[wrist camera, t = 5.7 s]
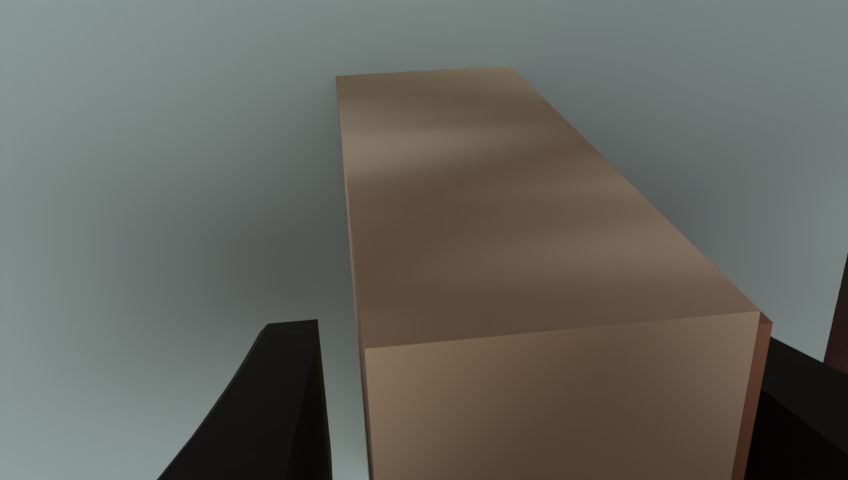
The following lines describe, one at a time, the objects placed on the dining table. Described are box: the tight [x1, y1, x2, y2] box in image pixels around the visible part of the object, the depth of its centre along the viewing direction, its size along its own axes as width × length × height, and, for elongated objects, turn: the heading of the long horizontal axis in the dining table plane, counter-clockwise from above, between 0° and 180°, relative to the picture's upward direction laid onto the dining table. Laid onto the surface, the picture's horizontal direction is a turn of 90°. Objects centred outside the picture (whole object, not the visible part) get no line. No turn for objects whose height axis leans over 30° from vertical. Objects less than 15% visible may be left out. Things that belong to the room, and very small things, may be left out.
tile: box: [336, 66, 773, 480], centre depth 9 cm, size 3×7×7 cm, turn 2°
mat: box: [0, 0, 848, 480], centre depth 13 cm, size 17×14×1 cm
